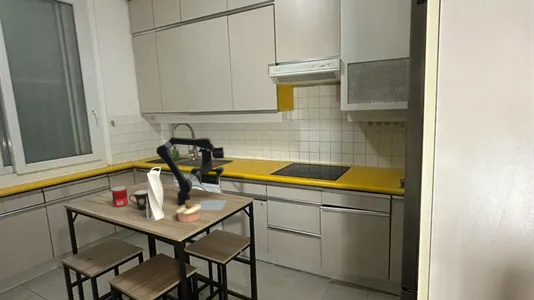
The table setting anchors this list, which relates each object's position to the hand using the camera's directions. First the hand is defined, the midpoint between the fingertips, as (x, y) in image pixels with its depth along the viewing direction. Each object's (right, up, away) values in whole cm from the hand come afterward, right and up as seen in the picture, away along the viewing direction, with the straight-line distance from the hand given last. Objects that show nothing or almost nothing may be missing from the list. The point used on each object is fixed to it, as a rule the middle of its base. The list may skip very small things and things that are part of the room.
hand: (208, 184), depth 176 cm
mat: (+2, -12, -2) cm, 13 cm away
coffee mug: (-39, -14, -2) cm, 41 cm away
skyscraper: (-24, -16, -18) cm, 34 cm away
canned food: (-55, -13, +4) cm, 56 cm away
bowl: (-6, -16, -20) cm, 26 cm away
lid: (-6, -11, -21) cm, 25 cm away
